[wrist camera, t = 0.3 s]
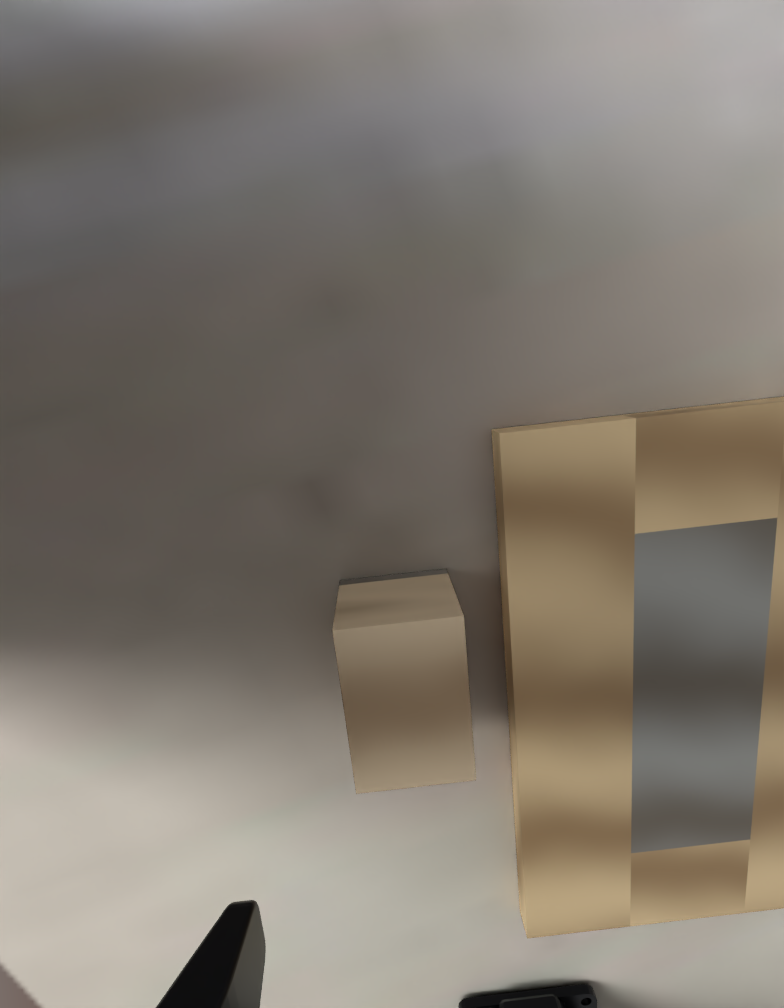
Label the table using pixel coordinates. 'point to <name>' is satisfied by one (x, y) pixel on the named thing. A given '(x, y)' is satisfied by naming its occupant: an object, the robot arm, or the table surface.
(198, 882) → the table surface
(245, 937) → the robot arm
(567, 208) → the table surface
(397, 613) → the block
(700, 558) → the board
